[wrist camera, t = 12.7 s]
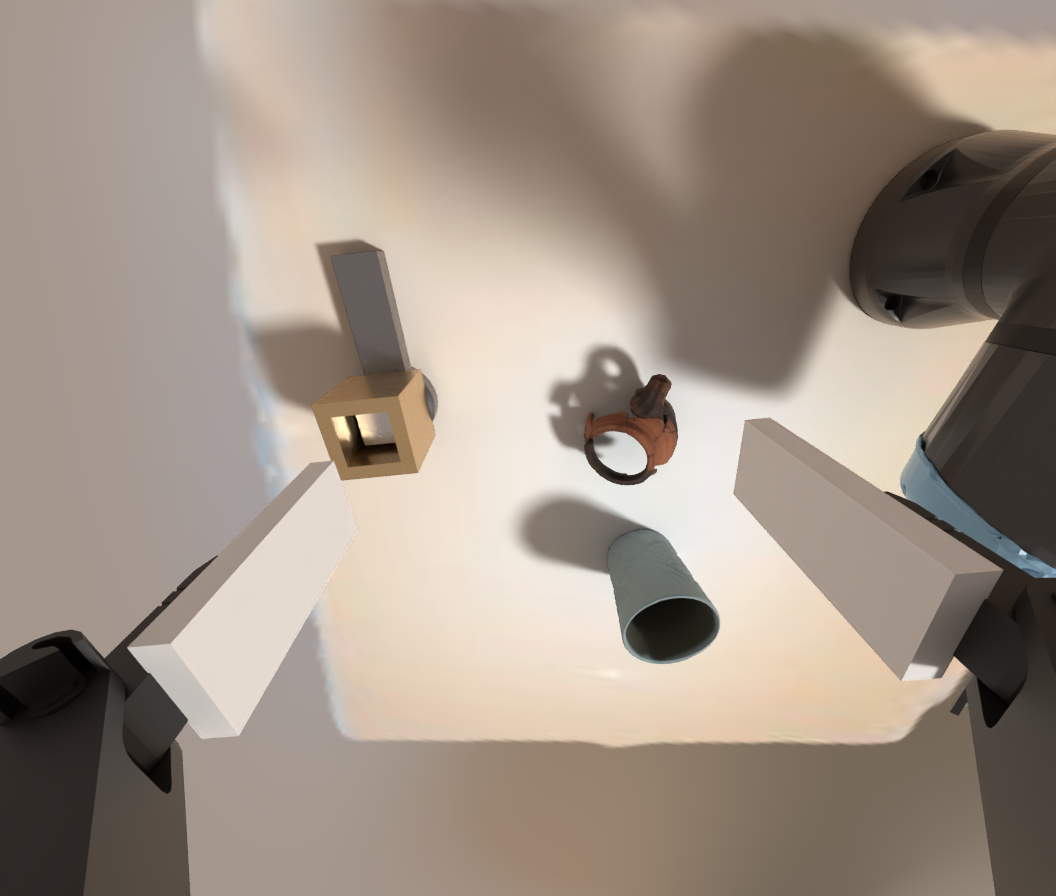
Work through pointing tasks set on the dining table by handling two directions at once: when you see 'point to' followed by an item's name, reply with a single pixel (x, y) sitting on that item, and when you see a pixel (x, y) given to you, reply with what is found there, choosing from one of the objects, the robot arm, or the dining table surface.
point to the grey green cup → (658, 600)
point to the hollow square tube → (375, 395)
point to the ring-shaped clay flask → (638, 430)
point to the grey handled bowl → (375, 330)
